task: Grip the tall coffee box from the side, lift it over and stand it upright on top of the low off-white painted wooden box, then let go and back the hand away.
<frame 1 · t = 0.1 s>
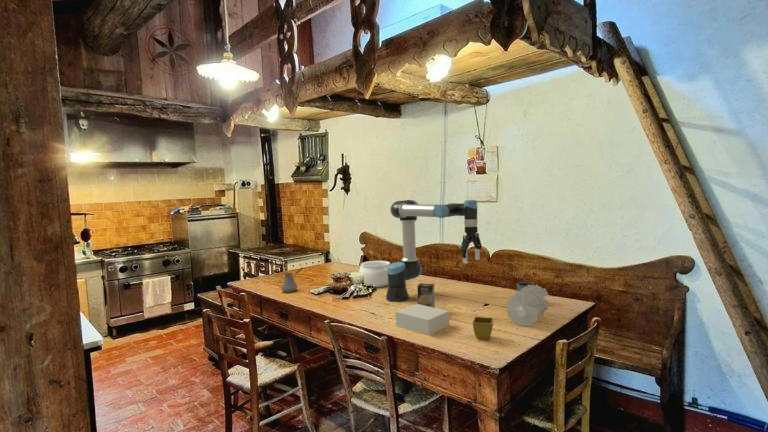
hand: (471, 261, 240), 28 cm above the table, tool pointing down, fingers open, 13 cm apart
coffee box: (426, 311, 237), on the table
pot: (376, 284, 309), on the table
flower pot: (483, 338, 193), on the table
coffee pot: (294, 289, 301), on the table
painted box: (422, 326, 214), on the table
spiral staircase: (527, 321, 215), on the table
drinking glass: (525, 303, 247), on the table
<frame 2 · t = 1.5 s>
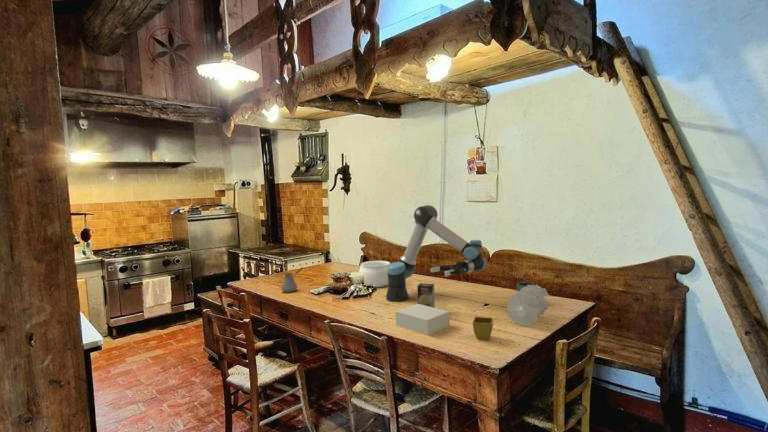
hand: (437, 271, 240), 22 cm above the table, tool horizontal, fingers open, 13 cm apart
nothing on the table moved.
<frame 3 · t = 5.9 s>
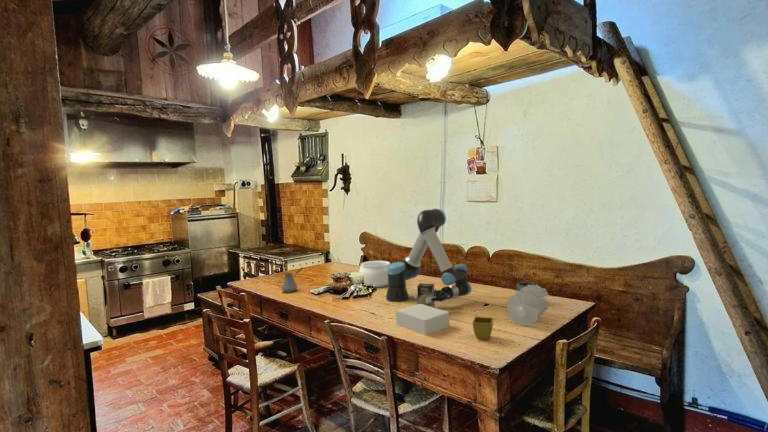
hand: (420, 298, 234), 9 cm above the table, tool horizontal, fingers closed on coffee box, 11 cm apart
coffee box: (426, 311, 237), on the table, touching gripper
when the fingers open (18 cm above the table, at t = 12.3 s): coffee box drops 2 cm, resting on painted box.
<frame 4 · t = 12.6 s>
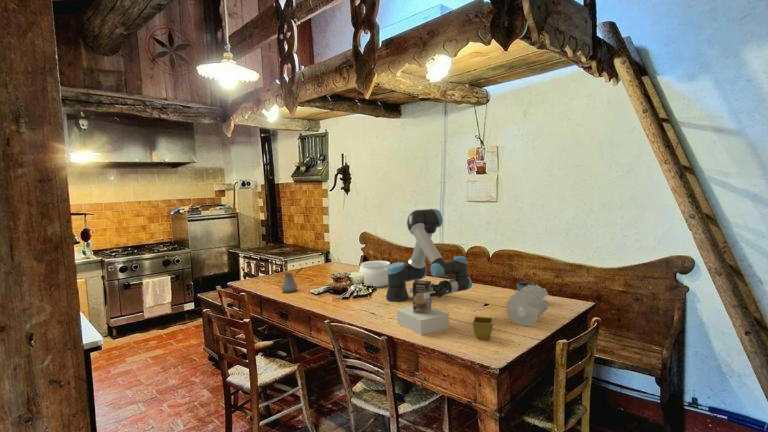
hand: (416, 293, 211), 18 cm above the table, tool horizontal, fingers open, 13 cm apart
coffee box: (422, 311, 213), point 7 cm above the table, touching painted box
painted box: (422, 326, 214), on the table, touching coffee box
everything else where it was.
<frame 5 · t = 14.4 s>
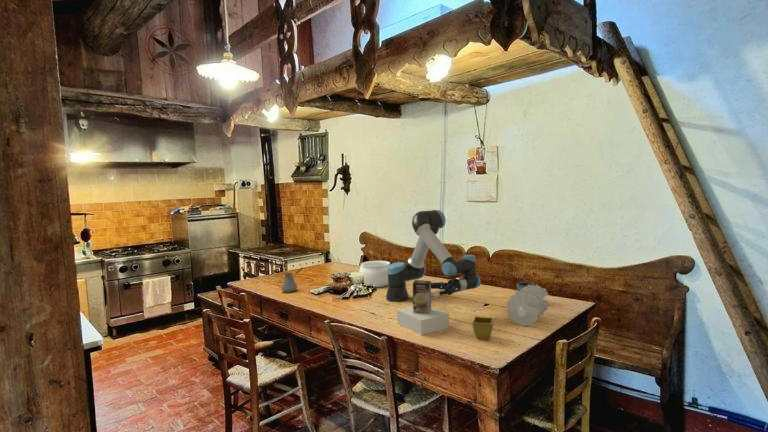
hand: (426, 291, 214), 18 cm above the table, tool horizontal, fingers open, 13 cm apart
coffee box: (422, 311, 213), point 7 cm above the table
painted box: (422, 326, 214), on the table
everything else where it was.
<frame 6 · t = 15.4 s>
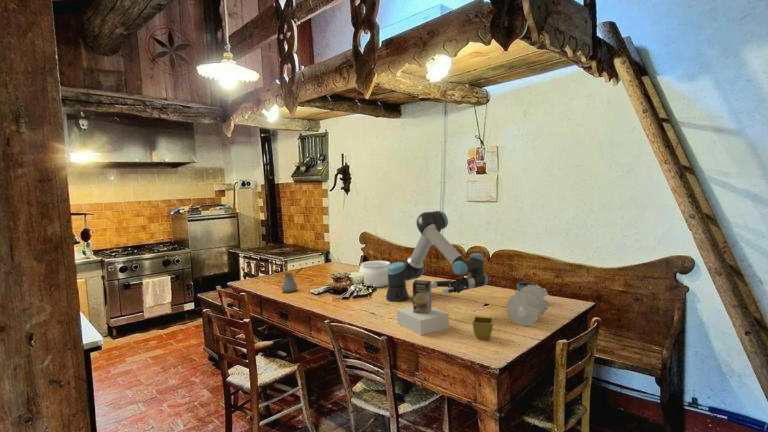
hand: (435, 289, 217), 18 cm above the table, tool horizontal, fingers open, 13 cm apart
nothing on the table moved.
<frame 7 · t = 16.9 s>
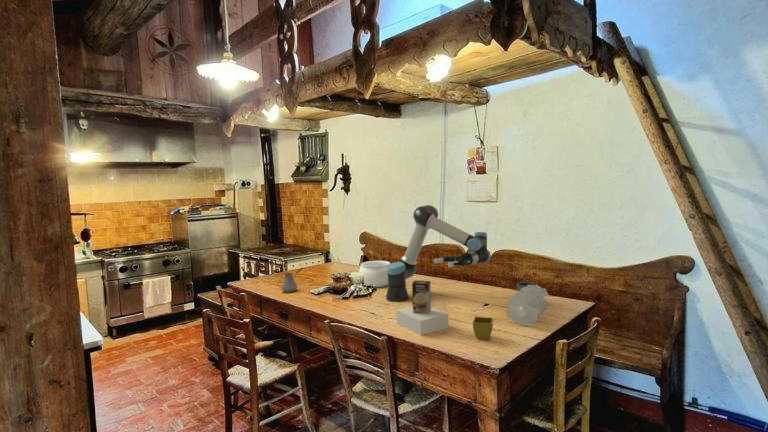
hand: (441, 262, 236), 28 cm above the table, tool horizontal, fingers open, 13 cm apart
coffee box: (421, 312, 213), point 7 cm above the table, touching painted box
painted box: (422, 326, 214), on the table, touching coffee box
everything else where it was.
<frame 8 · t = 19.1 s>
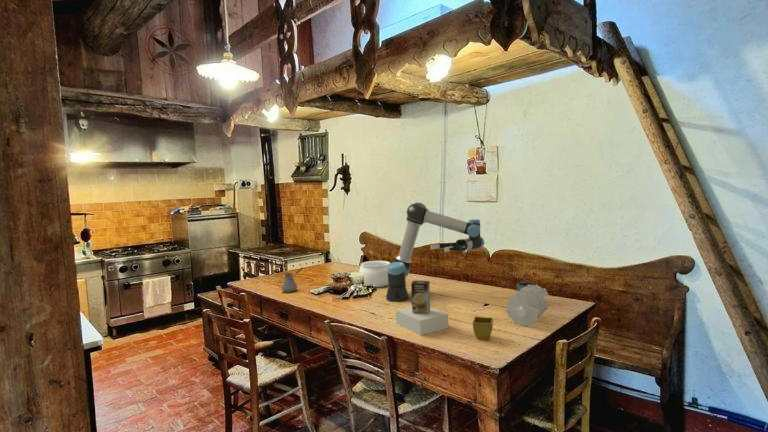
hand: (437, 248, 249), 35 cm above the table, tool horizontal, fingers open, 13 cm apart
coffee box: (421, 312, 213), point 7 cm above the table
painted box: (421, 326, 214), on the table
everything else where it was.
at the end: coffee box inside the target area on the painted box (0.2 cm from its centre), point 7.9 cm above the painted box's base; coffee box tilted 1°; the gripper is holding nothing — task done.
